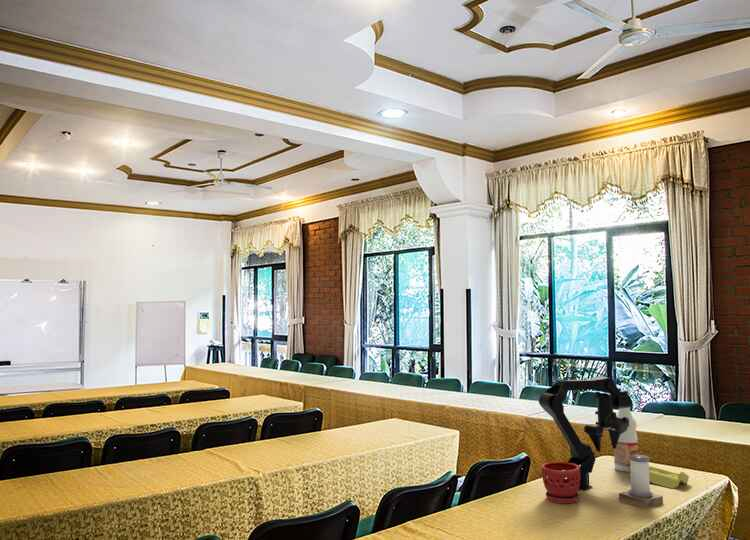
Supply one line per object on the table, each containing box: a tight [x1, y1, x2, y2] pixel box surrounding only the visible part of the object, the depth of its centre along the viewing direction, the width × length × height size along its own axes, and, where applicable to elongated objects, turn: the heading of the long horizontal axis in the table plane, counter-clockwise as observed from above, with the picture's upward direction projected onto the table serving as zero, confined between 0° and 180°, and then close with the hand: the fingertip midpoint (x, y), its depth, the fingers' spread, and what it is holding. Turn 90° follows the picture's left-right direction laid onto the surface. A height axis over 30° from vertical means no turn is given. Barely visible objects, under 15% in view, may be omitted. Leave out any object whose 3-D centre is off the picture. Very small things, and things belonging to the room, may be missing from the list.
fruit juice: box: [613, 407, 639, 473], centre depth 249 cm, size 9×9×28 cm
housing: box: [628, 454, 653, 498], centre depth 207 cm, size 8×8×13 cm
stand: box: [618, 490, 664, 509], centre depth 206 cm, size 10×10×2 cm
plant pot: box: [541, 461, 581, 505], centre depth 209 cm, size 13×13×12 cm
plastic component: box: [649, 465, 690, 489], centre depth 231 cm, size 20×7×10 cm
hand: (606, 450), depth 228 cm, fingers open, 9 cm apart
